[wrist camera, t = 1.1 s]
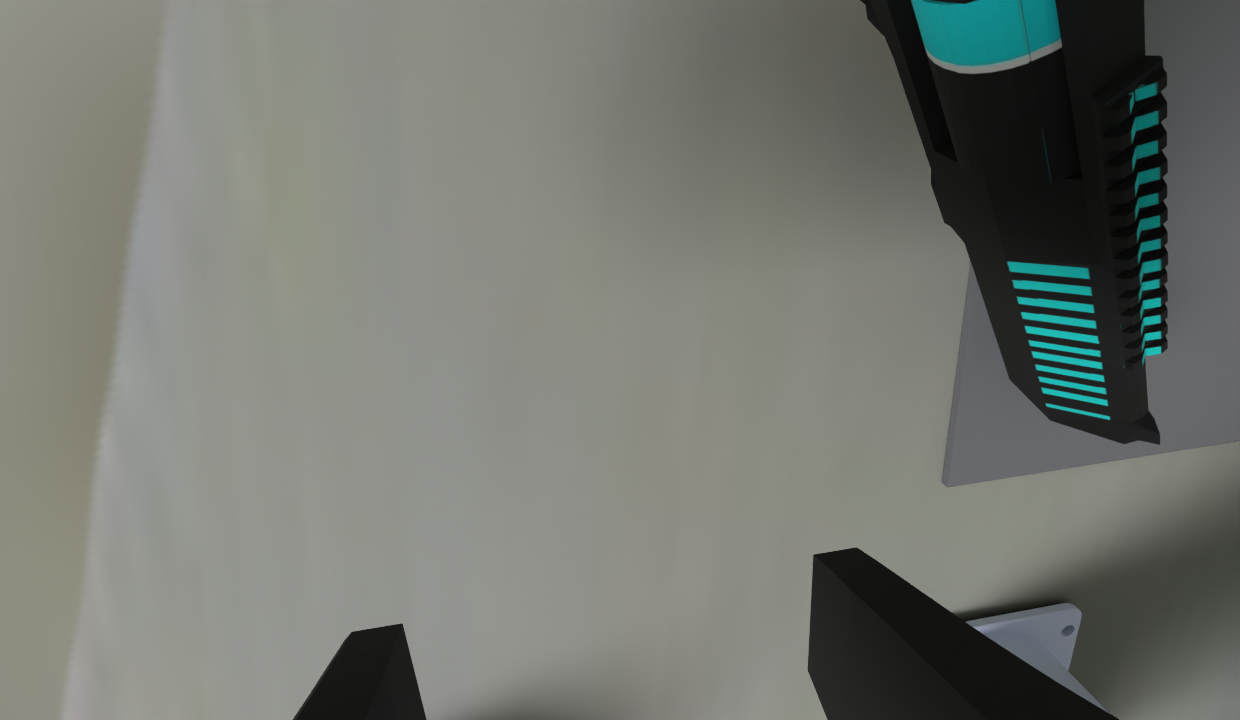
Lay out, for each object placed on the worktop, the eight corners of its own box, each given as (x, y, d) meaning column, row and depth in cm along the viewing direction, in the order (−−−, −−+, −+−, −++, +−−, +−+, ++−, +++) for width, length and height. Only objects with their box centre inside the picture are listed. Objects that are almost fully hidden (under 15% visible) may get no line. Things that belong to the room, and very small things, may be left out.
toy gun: (877, 290, 25) (1110, 484, 18) (556, -369, 12) (942, -678, 5) (944, 239, 25) (1211, 415, 17) (687, -502, 12) (1344, -1080, 4)
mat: (1308, 424, 24) (1317, 428, 24) (942, 482, 22) (947, 487, 22) (1659, -548, 15) (1681, -561, 14) (1082, -579, 13) (1095, -593, 13)
